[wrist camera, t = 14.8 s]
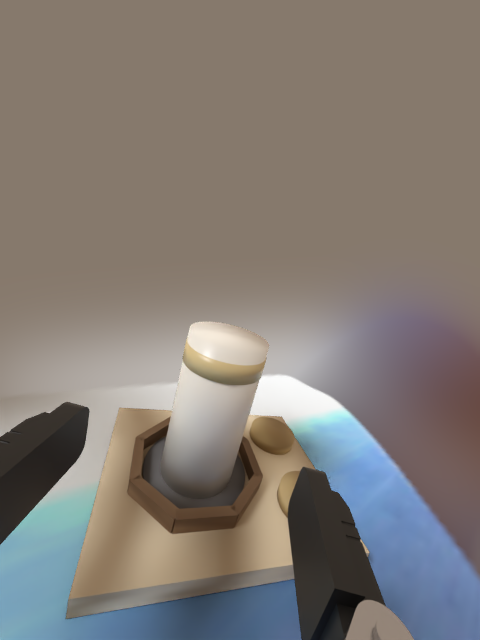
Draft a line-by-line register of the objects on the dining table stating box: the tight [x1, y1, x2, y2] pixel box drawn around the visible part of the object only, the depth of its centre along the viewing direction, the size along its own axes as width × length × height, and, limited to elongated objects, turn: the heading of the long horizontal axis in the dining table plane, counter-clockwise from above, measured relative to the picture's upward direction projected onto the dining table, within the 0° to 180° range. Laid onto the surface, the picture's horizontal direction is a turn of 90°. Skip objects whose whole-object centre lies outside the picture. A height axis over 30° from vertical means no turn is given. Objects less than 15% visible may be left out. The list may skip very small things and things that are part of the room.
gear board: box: [66, 408, 370, 619], centre depth 19 cm, size 16×13×2 cm
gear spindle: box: [160, 322, 269, 499], centre depth 17 cm, size 5×5×10 cm
